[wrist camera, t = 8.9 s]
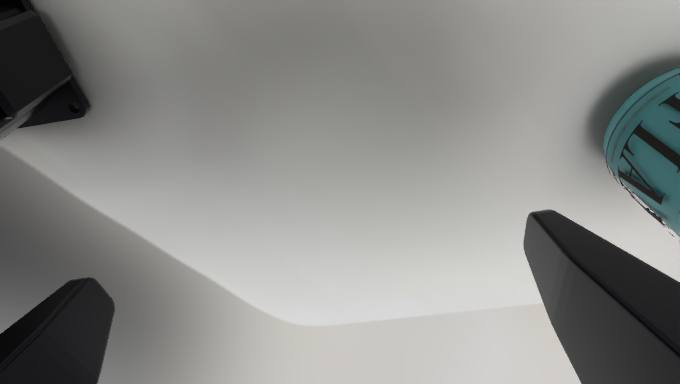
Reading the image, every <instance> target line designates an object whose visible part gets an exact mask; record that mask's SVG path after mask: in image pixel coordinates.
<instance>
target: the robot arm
mask: <svg viewBox="0 0 680 384" xmlns="http://www.w3.org/2000/svg"><path fill="white" fill-rule="evenodd" d="M73 103H75V104H77V105H78V106H79V108H80V109H77V108H75V107H74V106H73ZM89 110H90V105H89V103H88V101H87V99H86V98H85V96H84V94H83V92H82V91H81V89H80V87H79V86H78V84H77V82H76V81H75V79H74V77H73V75H72V72H71V70H70V68H69V67H68V65H67V63H66V62H65V60H64V58H63V56H62V55H61V53H60V51H59V50H58V48H57V46H56V45H55V43H54V41H53V39H52V38H51V36H50V34H49V33H48V31H47V29H46V27H45V26H44V24H43V22H42V21H41V19H40V17H39V16H38V15H37V14H36V13H35V11H34V9H33V7H32V6H31V4H30V2H29V1H28V0H0V140H2V139H3V138H4V137H6V136H7V135H8V134H10V133H11V132H12V131H14V130H15V129H17V128H23V127H29V126H35V125H41V124H47V123H53V122H59V121H65V120H71V119H77V118H81V117H84V116H85V115H86V114H87V113H88V112H89ZM524 251H525V255H526V257H527V260H528V263H529V265H530V268H531V271H532V273H533V276H534V279H535V281H536V284H537V287H538V290H539V292H540V295H541V298H542V300H543V303H544V306H545V308H546V311H547V314H548V316H549V319H550V321H551V324H552V326H553V328H554V330H555V332H556V334H557V336H558V338H559V340H560V342H561V344H562V346H563V348H564V350H565V352H566V354H567V356H568V357H569V360H570V362H571V364H572V366H573V368H574V369H575V371H576V373H577V375H578V377H579V379H580V381H581V383H582V384H680V282H678V281H676V280H675V279H673V278H671V277H669V276H668V275H666V274H664V273H662V272H661V271H659V270H657V269H655V268H654V267H652V266H650V265H648V264H647V263H645V262H643V261H641V260H640V259H638V258H636V257H634V256H633V255H631V254H629V253H627V252H626V251H624V250H622V249H620V248H619V247H617V246H615V245H613V244H612V243H610V242H608V241H607V240H605V239H603V238H601V237H600V236H598V235H596V234H594V233H593V232H591V231H589V230H587V229H586V228H584V227H582V226H580V225H579V224H577V223H575V222H573V221H572V220H570V219H568V218H566V217H565V216H563V215H561V214H559V213H558V212H556V211H554V210H542V211H536V212H531V213H530V214H529V215H528V217H527V223H526V229H525V236H524ZM114 312H115V304H114V301H113V299H112V298H111V296H110V295H109V294H108V293H107V292H106V291H105V289H104V288H103V287H102V286H101V285H100V283H99V282H98V281H97V280H96V279H94V278H92V277H84V278H77V279H73V280H70V281H68V282H67V283H66V284H65V285H64V286H62V287H61V288H59V289H58V290H57V291H56V292H54V293H53V294H52V295H50V296H49V297H48V298H46V299H45V300H44V301H43V302H41V303H40V304H39V305H37V306H36V307H35V308H33V309H32V310H31V311H30V312H29V313H27V314H26V315H24V317H22V318H21V319H19V320H18V321H17V322H15V323H14V324H13V325H12V326H10V327H9V328H8V329H6V330H5V331H4V332H3V333H1V334H0V384H97V383H98V380H99V376H100V372H101V368H102V364H103V360H104V355H105V351H106V347H107V342H108V338H109V334H110V329H111V325H112V321H113V316H114Z"/></svg>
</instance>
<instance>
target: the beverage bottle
mask: <svg viewBox="0 0 680 384" xmlns="http://www.w3.org/2000/svg"><path fill="white" fill-rule="evenodd" d="M603 152H604V156H605V159H606V164H607V163H608V165H609V167H610V169H611V171H612V173H613V176H614V177H615V175H616V176H617V177H618V178H619V180H620V182H621V181H622V182H623V183H624V184H625V185H626V186H627V187H625V186H624V185H623V183H622V182H621V184H622V186H624V187H625V188H626V189H625V188H624V189H625V190H628V189H627V188H629V189H630V190H631V191H632V193H634V194H636V195H637V196H638V197H639V198H640V199H641V200H642V201H643V202H644V203H645V204H646V205H647V206H648V207H649V208H650V210H652V211H653V212H654V213H652V212H651V211H649V208H647V209H646V208H645V207H644V206H642V205H641V204H640V203H639V202H638V201H637V200H636V199H635V198H634V196H633V195H632V194H631V192H629V193H630V194H631V196H632V197H633V198H634V199H635V200H636V201H637V202H638V203H639V204H640V205H641V206H642V207H643V208H644V209H645V210H646V211H647V212H648V213H649V214H650V215H651V216H652V217H653V218H654V219H657V220H658V221H659V222H660V223H661V224H662V225H663V226H664V224H663V223H662V220H663V221H664V222H665V223H666V225H667V226H669V227H670V229H672V230H673V231H674V232H675V233H676V234H677V235H678V236H679V237H680V68H677V69H674V70H671V71H669V72H667V73H664V74H662V75H660V76H658V77H656V78H655V79H653V80H651V81H650V82H648V83H647V84H645V85H644V86H642V87H641V88H640V89H638V90H637V91H636V92H635V93H633V94H632V95H631V96H630V97H629V98H628V99H627V100H626V101H625V102H624V103H623V104H622V105H621V107H620V108H619V109H618V110H617V112H616V113H615V115H614V116H613V118H612V119H611V121H610V123H609V125H608V127H607V130H606V132H605V136H604V142H603ZM608 165H607V168H608ZM608 170H609V169H608ZM609 173H610V172H609ZM615 178H616V177H615ZM616 181H617V179H616ZM617 182H618V181H617ZM619 184H620V183H619ZM656 215H657V216H656ZM661 219H662V220H661ZM666 225H665V226H666ZM667 226H666V227H667ZM669 227H668V228H669ZM670 234H671V233H670ZM671 235H672V234H671ZM672 236H673V235H672ZM674 237H675V236H674Z"/></svg>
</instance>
